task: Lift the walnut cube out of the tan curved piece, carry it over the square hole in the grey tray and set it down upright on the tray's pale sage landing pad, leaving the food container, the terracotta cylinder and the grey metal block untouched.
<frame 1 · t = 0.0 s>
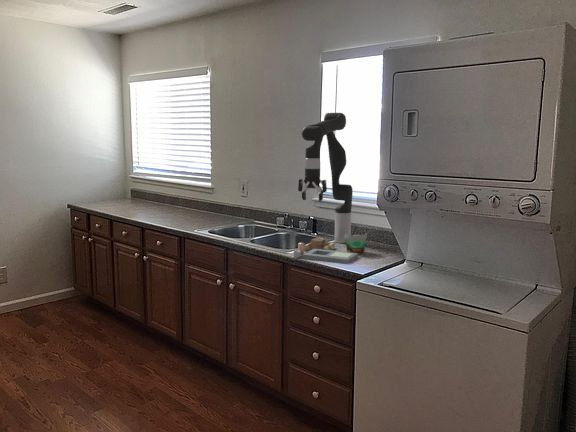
hand: (312, 200, 252), 29 cm above the worktop, fingers open, 8 cm apart
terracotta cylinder: (301, 254, 265), on the worktop
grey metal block: (297, 257, 260), on the worktop
food container: (357, 253, 268), on the worktop
grey tray: (330, 257, 259), on the worktop
tan curved piece: (318, 250, 275), on the worktop
walnut cube: (318, 245, 274), in the tan curved piece
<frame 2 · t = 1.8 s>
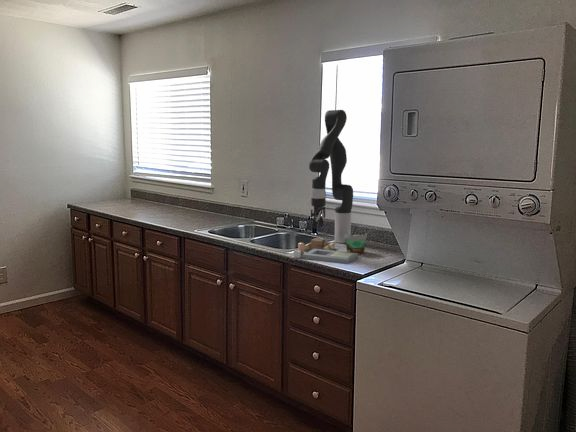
hand: (317, 227, 273), 13 cm above the worktop, fingers open, 8 cm apart
nothing on the worktop moved.
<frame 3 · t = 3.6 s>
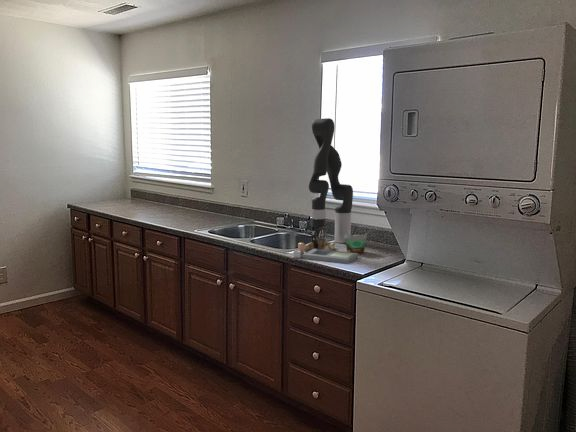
hand: (318, 248, 275), 1 cm above the worktop, fingers closed on walnut cube, 6 cm apart
walnut cube: (318, 244, 274), in the tan curved piece, touching gripper
everything else where it was.
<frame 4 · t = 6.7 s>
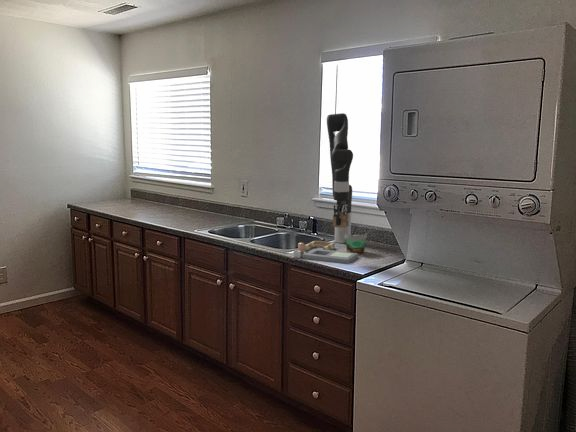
hand: (340, 224, 253), 18 cm above the worktop, fingers closed on walnut cube, 6 cm apart
walnut cube: (340, 220, 253), point 20 cm above the worktop, touching gripper
everything else where it was.
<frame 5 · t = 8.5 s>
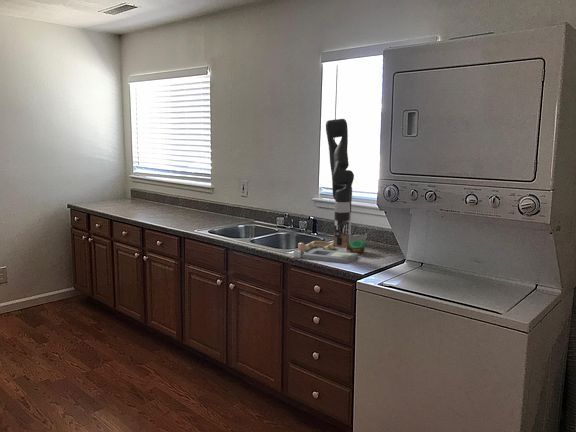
hand: (341, 244, 255), 8 cm above the worktop, fingers closed on walnut cube, 6 cm apart
walnut cube: (341, 240, 254), point 10 cm above the worktop, touching gripper
everything else where it was.
when the fingers open (5 cm above the worktop, at t = 10.1 s): walnut cube drops 1 cm, resting on grey tray.
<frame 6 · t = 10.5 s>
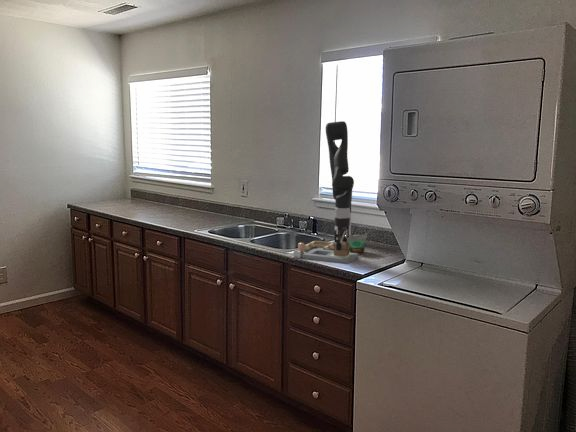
hand: (341, 248, 255), 5 cm above the worktop, fingers open, 8 cm apart
walnut cube: (341, 248, 255), on the grey tray, point 5 cm above the worktop
everything else where it was.
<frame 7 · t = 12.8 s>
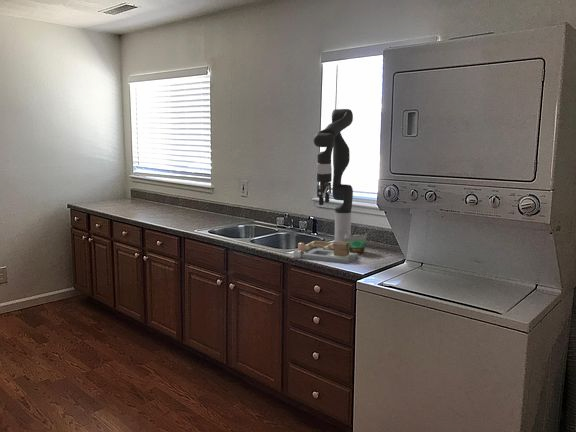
hand: (324, 203, 266), 26 cm above the worktop, fingers open, 8 cm apart
nothing on the worktop moved.
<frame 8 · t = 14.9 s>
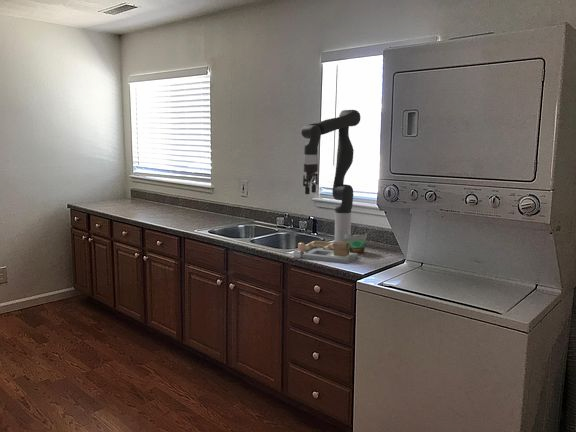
hand: (310, 193, 275), 30 cm above the worktop, fingers open, 8 cm apart
nothing on the worktop moved.
at the end: walnut cube inside the target area (0.4 cm from its centre), point 5.2 cm above the worktop; walnut cube tilted 0°; the gripper is holding nothing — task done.
